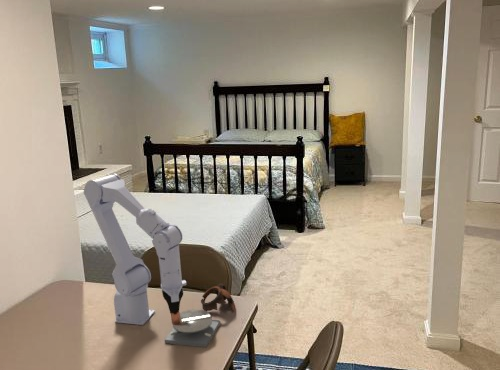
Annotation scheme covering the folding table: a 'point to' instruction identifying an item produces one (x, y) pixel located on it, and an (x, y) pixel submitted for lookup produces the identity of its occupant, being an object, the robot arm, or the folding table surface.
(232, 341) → the folding table surface
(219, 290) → the brown curved ring
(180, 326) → the handwheel
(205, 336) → the wheel base
